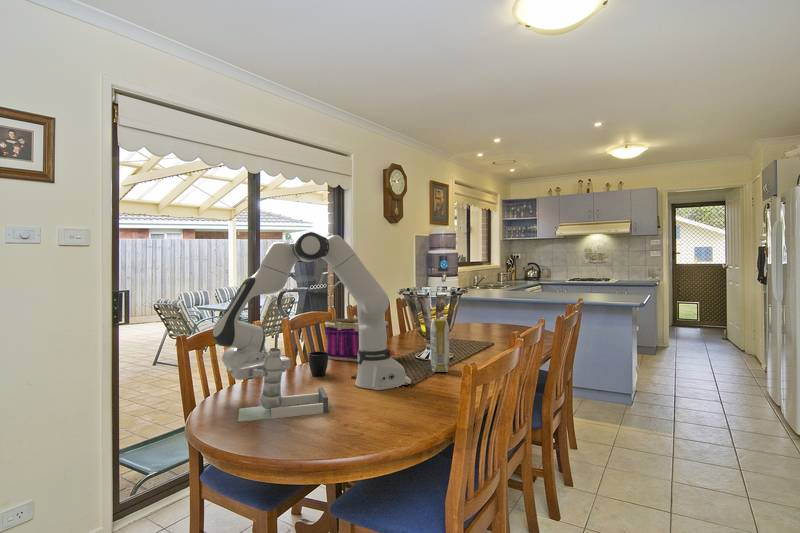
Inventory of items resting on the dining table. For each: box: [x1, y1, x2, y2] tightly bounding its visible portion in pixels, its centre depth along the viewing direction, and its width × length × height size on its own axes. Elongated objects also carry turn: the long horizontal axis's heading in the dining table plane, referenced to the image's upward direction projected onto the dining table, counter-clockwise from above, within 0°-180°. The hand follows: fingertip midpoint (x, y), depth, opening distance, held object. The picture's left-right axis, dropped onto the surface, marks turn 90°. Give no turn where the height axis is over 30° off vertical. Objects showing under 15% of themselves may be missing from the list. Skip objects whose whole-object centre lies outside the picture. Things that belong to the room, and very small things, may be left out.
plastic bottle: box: [260, 347, 284, 409], centre depth 151 cm, size 6×7×20 cm
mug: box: [308, 350, 329, 378], centre depth 198 cm, size 8×12×10 cm
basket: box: [324, 280, 389, 363], centre depth 229 cm, size 31×20×40 cm, turn 69°
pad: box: [237, 405, 271, 423], centre depth 149 cm, size 10×12×1 cm
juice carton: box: [430, 316, 450, 372], centre depth 202 cm, size 9×8×24 cm
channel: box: [271, 386, 329, 420], centre depth 153 cm, size 18×12×5 cm
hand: (274, 371), depth 150 cm, fingers closed on plastic bottle, 6 cm apart
